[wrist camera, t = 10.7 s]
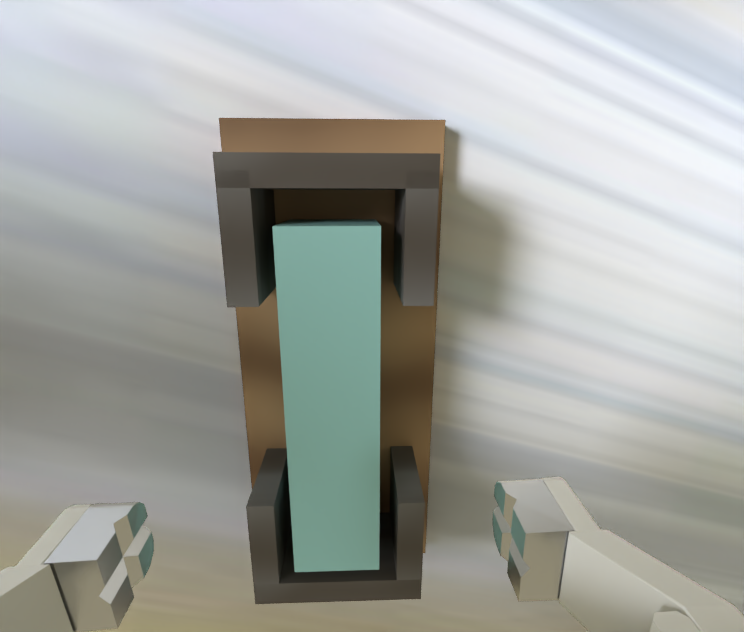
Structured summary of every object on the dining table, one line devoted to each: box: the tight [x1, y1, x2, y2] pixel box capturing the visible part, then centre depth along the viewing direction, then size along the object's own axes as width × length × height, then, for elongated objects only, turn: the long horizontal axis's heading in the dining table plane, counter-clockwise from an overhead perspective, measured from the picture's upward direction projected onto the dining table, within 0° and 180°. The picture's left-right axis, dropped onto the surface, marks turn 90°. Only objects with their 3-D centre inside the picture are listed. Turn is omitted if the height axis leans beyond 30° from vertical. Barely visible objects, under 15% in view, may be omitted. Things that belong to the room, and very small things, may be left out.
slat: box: [272, 219, 381, 572], centre depth 20 cm, size 16×4×4 cm, turn 0°
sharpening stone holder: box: [213, 118, 445, 604], centre depth 20 cm, size 24×10×6 cm, turn 0°
